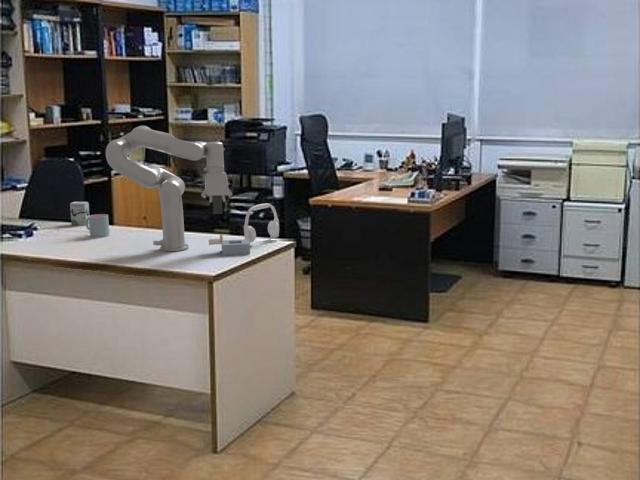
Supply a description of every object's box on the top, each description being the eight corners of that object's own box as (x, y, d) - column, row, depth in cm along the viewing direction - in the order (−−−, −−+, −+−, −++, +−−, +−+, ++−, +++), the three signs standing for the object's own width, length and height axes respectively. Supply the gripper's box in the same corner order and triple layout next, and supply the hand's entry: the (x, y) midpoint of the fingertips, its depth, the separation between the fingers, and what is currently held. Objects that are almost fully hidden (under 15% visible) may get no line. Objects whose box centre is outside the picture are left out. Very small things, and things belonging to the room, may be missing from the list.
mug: (113, 234, 408) (112, 215, 406) (99, 238, 400) (97, 218, 398) (94, 232, 415) (92, 212, 413) (79, 235, 407) (78, 215, 405)
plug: (213, 214, 367) (212, 193, 365) (213, 212, 371) (212, 192, 369) (222, 213, 368) (221, 193, 366) (222, 212, 372) (221, 192, 370)
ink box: (71, 225, 436) (69, 203, 434) (75, 223, 441) (73, 201, 439) (86, 225, 435) (84, 203, 432) (90, 223, 440) (88, 201, 437)
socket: (222, 255, 357) (221, 245, 357) (221, 250, 367) (221, 240, 366) (250, 253, 359) (249, 243, 358) (248, 249, 369) (248, 239, 368)
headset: (251, 246, 374) (249, 207, 370) (240, 244, 379) (239, 206, 375) (282, 239, 388) (281, 201, 385) (272, 237, 393) (270, 200, 389)
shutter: (208, 244, 357) (208, 237, 356) (208, 241, 364) (208, 233, 364) (222, 244, 358) (222, 236, 357) (222, 240, 365) (222, 233, 365)
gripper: (197, 171, 360) (199, 213, 364) (235, 170, 363) (237, 211, 367) (196, 169, 368) (198, 210, 371) (233, 168, 370) (235, 208, 374)
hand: (217, 210), depth 369 cm, fingers closed on plug, 4 cm apart
